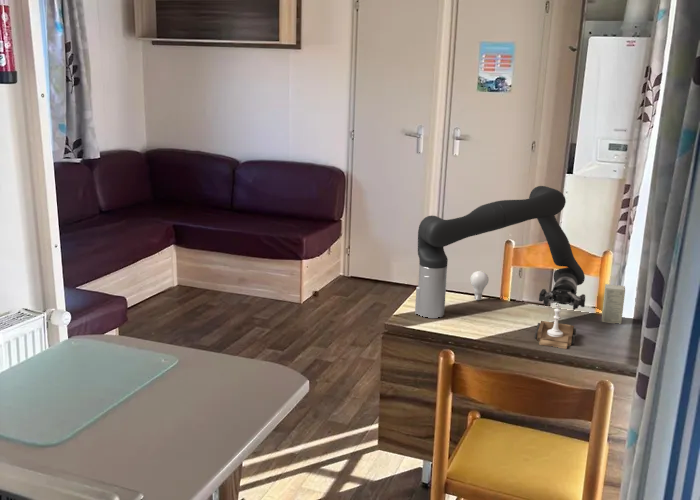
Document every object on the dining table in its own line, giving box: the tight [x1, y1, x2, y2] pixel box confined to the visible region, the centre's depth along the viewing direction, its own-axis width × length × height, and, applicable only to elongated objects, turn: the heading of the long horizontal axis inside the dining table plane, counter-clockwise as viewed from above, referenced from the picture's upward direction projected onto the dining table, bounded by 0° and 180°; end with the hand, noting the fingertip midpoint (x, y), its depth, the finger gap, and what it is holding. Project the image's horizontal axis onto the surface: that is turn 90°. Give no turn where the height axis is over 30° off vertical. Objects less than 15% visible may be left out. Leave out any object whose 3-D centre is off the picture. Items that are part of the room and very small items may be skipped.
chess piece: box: [547, 303, 563, 337], centre depth 211 cm, size 5×5×10 cm
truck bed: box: [534, 320, 577, 350], centre depth 211 cm, size 12×13×3 cm
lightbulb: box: [469, 270, 489, 302], centre depth 243 cm, size 6×6×11 cm
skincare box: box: [601, 283, 626, 325], centre depth 226 cm, size 6×4×12 cm
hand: (560, 304), depth 216 cm, fingers open, 8 cm apart
